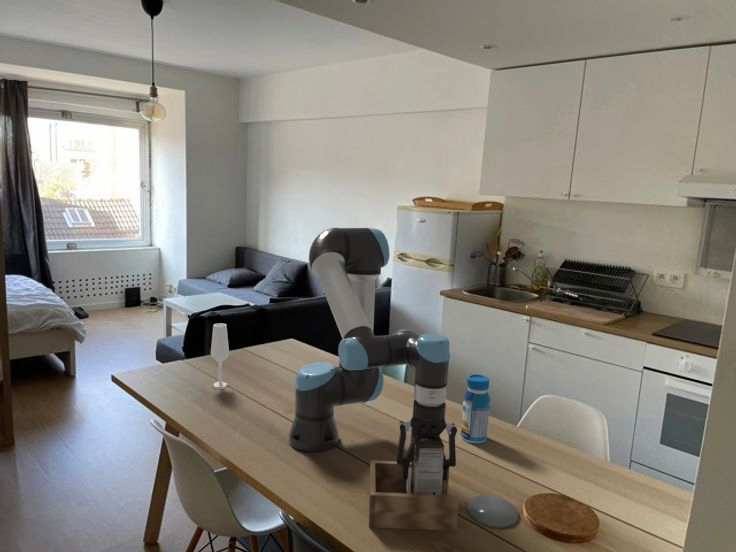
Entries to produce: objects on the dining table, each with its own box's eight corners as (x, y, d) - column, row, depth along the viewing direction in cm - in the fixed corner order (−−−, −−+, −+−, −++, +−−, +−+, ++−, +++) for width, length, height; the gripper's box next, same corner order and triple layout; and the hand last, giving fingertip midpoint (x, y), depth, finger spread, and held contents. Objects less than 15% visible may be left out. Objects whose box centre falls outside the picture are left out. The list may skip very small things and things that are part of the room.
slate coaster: (472, 526, 121) (472, 523, 121) (463, 497, 133) (463, 494, 133) (524, 529, 121) (524, 526, 121) (510, 499, 133) (510, 496, 133)
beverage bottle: (481, 447, 160) (487, 384, 157) (456, 439, 164) (460, 378, 161) (491, 436, 167) (496, 376, 164) (466, 429, 171) (470, 371, 168)
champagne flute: (223, 381, 204) (223, 321, 200) (232, 386, 199) (232, 325, 195) (207, 385, 199) (207, 324, 195) (216, 390, 194) (216, 328, 190)
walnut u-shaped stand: (368, 527, 119) (370, 495, 118) (369, 489, 135) (370, 460, 133) (456, 530, 119) (458, 498, 118) (446, 492, 135) (448, 463, 133)
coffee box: (407, 487, 131) (410, 427, 128) (432, 487, 131) (436, 427, 129) (413, 509, 122) (417, 445, 119) (440, 509, 122) (445, 445, 120)
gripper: (388, 405, 119) (383, 498, 123) (474, 409, 119) (467, 501, 123) (387, 392, 126) (382, 480, 130) (468, 396, 126) (461, 483, 130)
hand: (423, 490), depth 126 cm, fingers closed on coffee box, 7 cm apart
